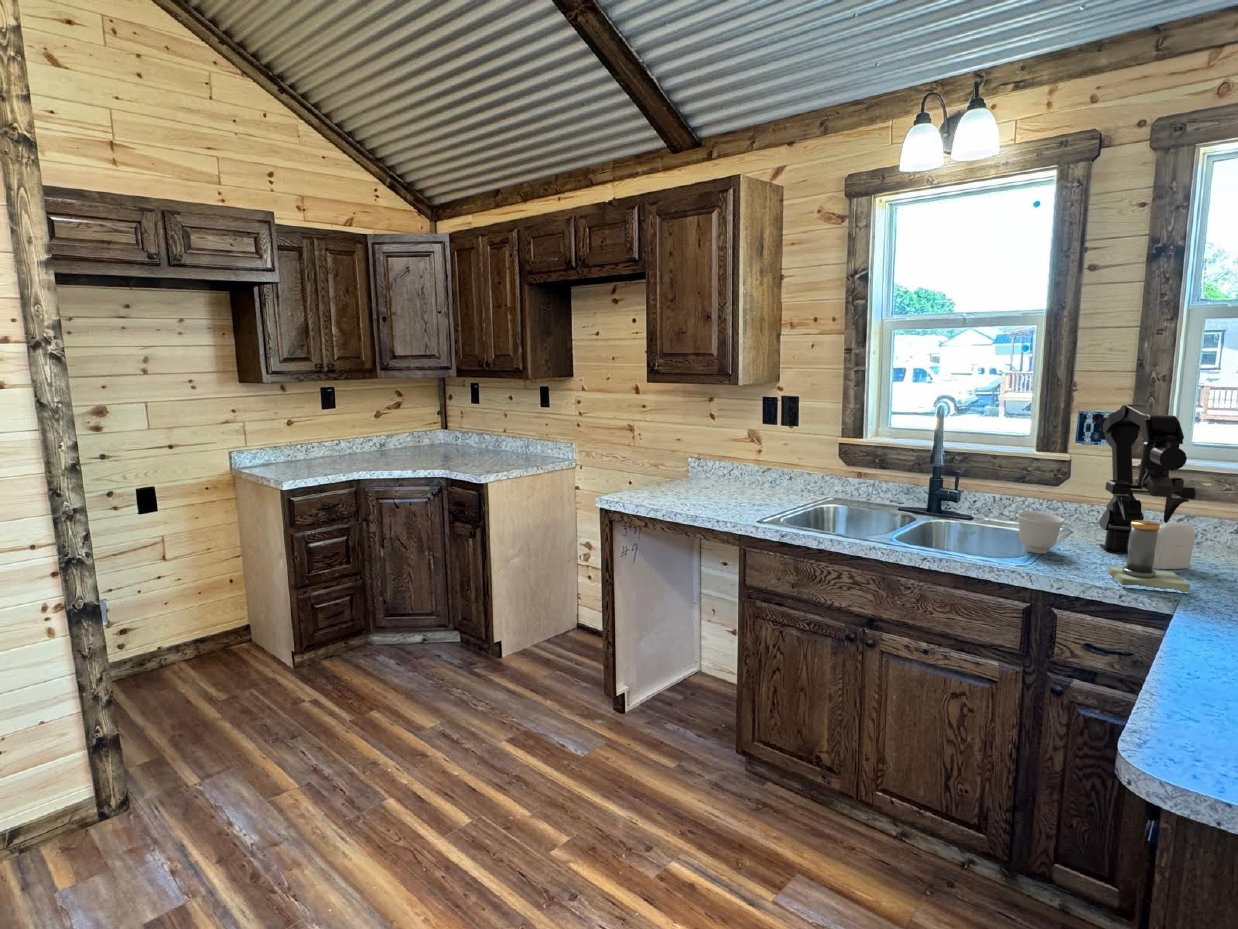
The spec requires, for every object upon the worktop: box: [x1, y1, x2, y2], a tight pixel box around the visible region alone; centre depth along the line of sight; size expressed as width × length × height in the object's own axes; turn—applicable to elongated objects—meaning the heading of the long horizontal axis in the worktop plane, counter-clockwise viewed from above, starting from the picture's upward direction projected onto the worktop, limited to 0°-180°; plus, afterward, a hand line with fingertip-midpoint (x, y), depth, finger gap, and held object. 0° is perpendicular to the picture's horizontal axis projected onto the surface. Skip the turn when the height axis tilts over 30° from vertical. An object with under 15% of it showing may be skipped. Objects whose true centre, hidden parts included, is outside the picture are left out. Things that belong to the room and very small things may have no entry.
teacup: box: [1015, 511, 1066, 554], centre depth 208 cm, size 12×15×10 cm
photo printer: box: [1153, 522, 1196, 570], centre depth 193 cm, size 10×4×12 cm, turn 96°
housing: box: [1122, 519, 1161, 578], centre depth 180 cm, size 7×7×13 cm
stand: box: [1107, 565, 1191, 592], centre depth 181 cm, size 10×14×2 cm
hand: (1145, 521), depth 191 cm, fingers open, 9 cm apart
